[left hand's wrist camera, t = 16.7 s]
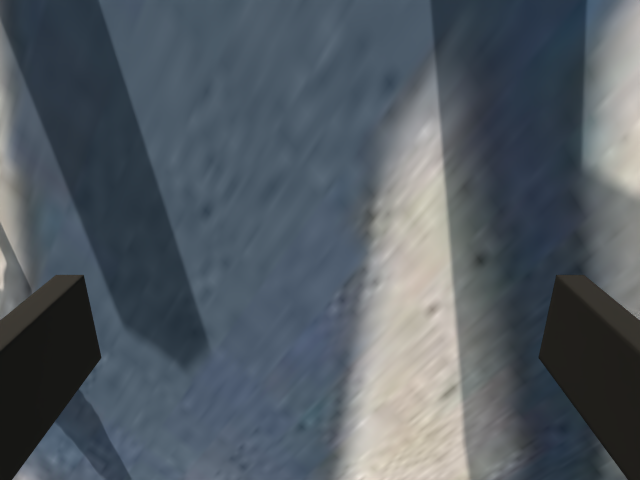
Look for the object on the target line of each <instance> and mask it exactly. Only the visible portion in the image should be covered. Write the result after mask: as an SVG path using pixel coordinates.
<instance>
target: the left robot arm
mask: <svg viewBox="0 0 640 480" xmlns="http://www.w3.org/2000/svg"><path fill="white" fill-rule="evenodd" d="M100 359H101V354H100V349H99V344H98V340H97V335H96V330H95V326H94V321H93V316H92V312H91V307H90V302H89V298H88V293H87V288H86V284H85V279H84V275H56V276H54V277H53V278H52V279H51V280H49V281H48V282H47V283H46V284H44V285H43V286H42V287H41V288H40V289H38V290H37V291H36V292H35V293H33V294H32V295H31V296H30V297H29V298H27V299H26V300H25V301H24V302H22V303H21V304H20V305H19V306H18V307H16V308H15V309H14V310H13V311H11V312H10V313H9V314H8V315H7V316H5V317H4V318H3V319H2V320H0V480H12V479H13V478H14V476H15V475H16V474H17V472H18V471H19V469H20V468H21V467H22V465H23V464H24V463H25V461H26V460H27V459H28V457H29V456H30V454H31V453H32V452H33V450H34V449H35V448H36V446H37V445H38V444H39V442H40V441H41V439H42V438H43V437H44V435H45V434H46V433H47V431H48V430H49V429H50V427H51V426H52V424H53V423H54V422H55V420H56V419H57V418H58V416H59V415H60V414H61V412H62V411H63V409H64V408H65V407H66V405H67V404H68V403H69V401H70V400H71V399H72V397H73V396H74V394H75V393H76V392H77V390H78V389H79V388H80V386H81V385H82V383H83V382H84V381H85V379H86V378H87V377H88V375H89V374H90V373H91V371H92V370H93V368H94V367H95V366H96V364H97V363H98V362H99V360H100ZM539 359H540V360H541V362H542V363H543V364H544V366H545V367H546V368H547V370H548V371H549V373H550V374H551V375H552V377H553V378H554V379H555V381H556V382H557V383H558V385H559V386H560V388H561V389H562V390H563V392H564V393H565V394H566V396H567V397H568V399H569V400H570V401H571V403H572V404H573V405H574V407H575V408H576V409H577V411H578V412H579V414H580V415H581V416H582V418H583V419H584V420H585V422H586V423H587V424H588V426H589V427H590V429H591V430H592V431H593V433H594V434H595V435H596V437H597V438H598V439H599V441H600V442H601V444H602V445H603V446H604V448H605V449H606V450H607V452H608V453H609V454H610V456H611V457H612V459H613V460H614V461H615V463H616V464H617V465H618V467H619V468H620V469H621V471H622V472H623V474H624V475H625V476H626V478H627V479H628V480H640V320H638V319H637V318H636V317H635V316H633V315H632V314H631V313H630V312H629V311H627V310H626V309H625V308H624V307H622V306H621V305H620V304H619V303H618V302H616V301H615V300H614V299H613V298H611V297H610V296H609V295H608V294H607V293H605V292H604V291H603V290H602V289H600V288H599V287H598V286H597V285H596V284H594V283H593V282H592V281H591V280H589V279H588V278H587V277H586V276H584V275H556V279H555V284H554V288H553V293H552V298H551V302H550V307H549V312H548V316H547V321H546V326H545V330H544V335H543V340H542V344H541V349H540V354H539Z"/></svg>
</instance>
